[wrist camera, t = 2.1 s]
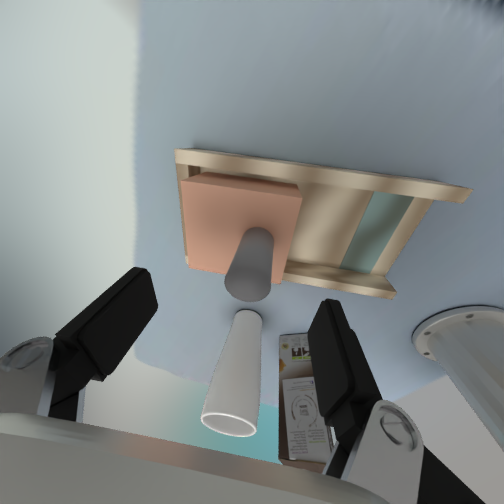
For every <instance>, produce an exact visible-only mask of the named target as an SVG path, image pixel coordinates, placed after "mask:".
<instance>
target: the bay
mask: <svg viewBox="0 0 504 504" xmlns="http://www.w3.org/2000/svg"><path fill="white" fill-rule="evenodd" d="M174 151H175V160H176V170H177V180H178V189H179V199H180V209H181V218H182V228H183V238H184V247H185V257H186V263H188V253H187V243H186V232H185V222H184V211H183V201H182V190H181V180H183V179H186V178H189V177H192V176H195V175H198V174H201V173H204V172H214V173H221V174H228V175H235V176H242V177H249V178H256V179H263V180H270V181H277V182H284V183H291V184H297V186H298V188H299V191H300V193H301V196H302V198H303V199H302V202H301V206H300V210H299V214H298V218H297V222H296V226H295V230H294V234H293V237H292V241H291V245H290V249H289V253H288V257H287V261H286V265H285V268H284V272H283V276H282V280H284V281H290V282H295V283H301V284H307V285H312V286H318V287H323V288H329V289H335V290H340V291H346V292H352V293H357V294H363V295H369V296H374V297H380V298H386V299H391V300H392V299H393V297H394V296H395V295H396V293H397V291H396V290H395V289H394V288H393V286H392V285H391V284H390V283H389V281H388V280H387V279H386V278H385V275H386V274H387V272H388V271H389V269H390V267H391V266H392V264H393V263H394V261H395V260H396V258H397V257H398V255H399V253H400V252H401V250H402V249H403V247H404V246H405V244H406V243H407V241H408V240H409V238H410V236H411V235H412V233H413V232H414V230H415V229H416V227H417V226H418V224H419V223H420V221H421V219H422V218H423V216H424V215H425V213H426V212H427V210H428V209H429V207H430V206H431V204H432V202H433V201H434V200H441V201H448V202H455V203H462V204H463V203H464V201H465V200H466V199H467V197H468V196H469V195H470V193H471V192H472V191H473V189H470V188H465V187H461V186H456V185H452V184H448V183H443V182H439V181H432V180H425V179H417V178H410V177H402V176H395V175H387V174H380V173H373V172H365V171H358V170H350V169H343V168H335V167H328V166H321V165H313V164H306V163H298V162H291V161H284V160H276V159H269V158H261V157H254V156H246V155H239V154H232V153H224V152H217V151H209V150H202V149H195V148H182V149H174Z"/></svg>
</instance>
